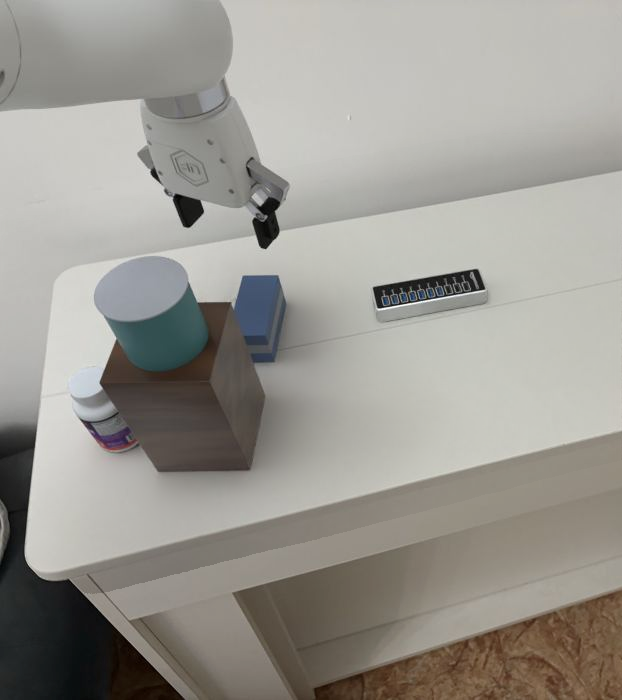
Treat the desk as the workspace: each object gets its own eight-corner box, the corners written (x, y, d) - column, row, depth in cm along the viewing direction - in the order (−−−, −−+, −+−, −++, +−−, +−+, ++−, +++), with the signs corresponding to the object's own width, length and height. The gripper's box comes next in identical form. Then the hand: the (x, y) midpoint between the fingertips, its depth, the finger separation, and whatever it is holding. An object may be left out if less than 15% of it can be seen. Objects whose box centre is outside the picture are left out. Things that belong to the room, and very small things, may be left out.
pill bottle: (95, 423, 80) (57, 371, 73) (144, 407, 82) (111, 354, 74) (101, 461, 77) (62, 410, 70) (152, 443, 79) (119, 392, 71)
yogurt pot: (200, 372, 65) (175, 320, 59) (113, 373, 65) (80, 321, 59) (218, 309, 70) (196, 255, 64) (137, 310, 70) (109, 256, 64)
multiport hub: (372, 298, 93) (370, 286, 91) (478, 279, 95) (479, 267, 93) (377, 322, 90) (376, 310, 88) (487, 302, 92) (487, 290, 91)
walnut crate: (250, 470, 77) (209, 381, 64) (157, 471, 76) (98, 383, 64) (265, 395, 83) (230, 301, 71) (179, 396, 83) (130, 302, 70)
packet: (274, 362, 86) (265, 335, 82) (237, 362, 86) (226, 336, 82) (286, 302, 92) (278, 274, 89) (251, 302, 92) (242, 275, 89)
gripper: (80, 89, 65) (145, 233, 78) (244, 127, 61) (283, 272, 74) (132, 51, 69) (185, 193, 82) (288, 84, 65) (317, 227, 78)
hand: (231, 230), depth 78 cm, fingers open, 9 cm apart
